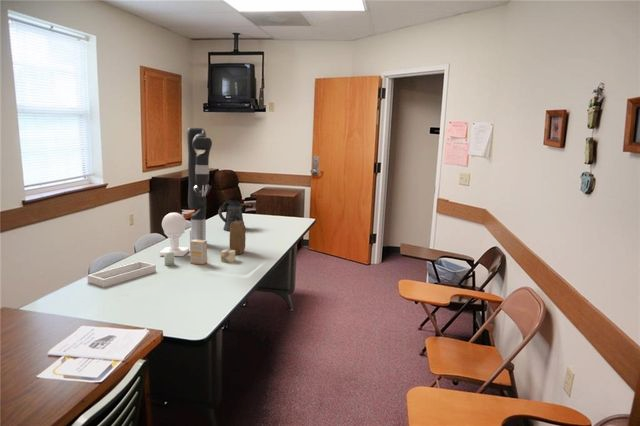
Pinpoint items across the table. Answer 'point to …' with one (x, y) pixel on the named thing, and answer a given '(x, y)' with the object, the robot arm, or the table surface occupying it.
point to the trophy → (174, 233)
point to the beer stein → (231, 213)
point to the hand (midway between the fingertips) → (202, 202)
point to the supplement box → (198, 251)
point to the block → (237, 237)
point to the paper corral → (99, 276)
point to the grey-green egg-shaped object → (169, 258)
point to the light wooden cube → (227, 255)
